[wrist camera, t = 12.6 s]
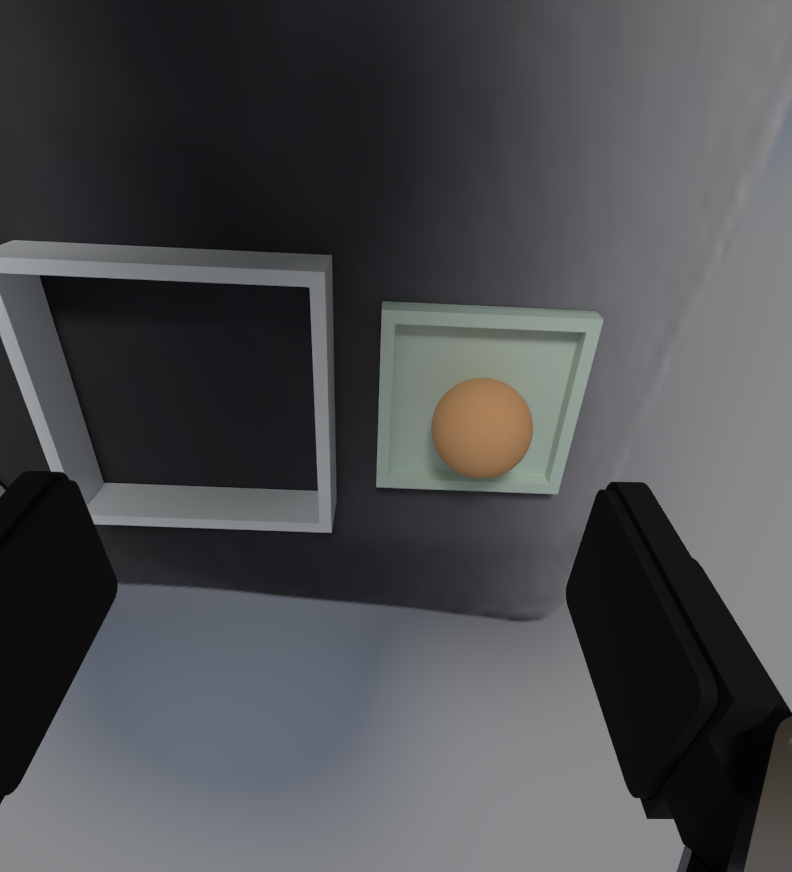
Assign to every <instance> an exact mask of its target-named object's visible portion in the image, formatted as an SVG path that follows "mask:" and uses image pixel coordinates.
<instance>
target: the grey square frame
mask: <svg viewBox="0 0 792 872" xmlns="http://www.w3.org/2000/svg"><path fill="white" fill-rule="evenodd" d="M39 275H52V276H74V277H96V278H118V279H140V280H162V281H183V282H205V283H227V284H249V285H271V286H293V287H310V310H311V334H312V358H313V381H314V405H315V429H316V452H317V476H318V491H307V490H281V489H255V488H228V487H202V486H176V485H150V484H123V483H104V482H103V479H102V475H101V472H100V469H99V466H98V463H97V459H96V456H95V453H94V450H93V447H92V443H91V440H90V437H89V434H88V431H87V427H86V424H85V421H84V418H83V415H82V411H81V408H80V405H79V402H78V398H77V395H76V392H75V389H74V386H73V382H72V379H71V376H70V373H69V370H68V366H67V363H66V360H65V357H64V354H63V350H62V347H61V344H60V341H59V337H58V334H57V331H56V328H55V325H54V321H53V318H52V315H51V312H50V309H49V305H48V302H47V299H46V296H45V293H44V289H43V286H42V283H41V280H40V277H39ZM0 336H1V338H2V341H3V344H4V346H5V349H6V352H7V355H8V357H9V360H10V363H11V365H12V368H13V371H14V373H15V376H16V379H17V381H18V384H19V387H20V389H21V392H22V395H23V397H24V400H25V403H26V406H27V408H28V411H29V414H30V416H31V419H32V422H33V424H34V427H35V430H36V432H37V435H38V438H39V440H40V443H41V446H42V448H43V451H44V454H45V456H46V459H47V462H48V465H49V467H50V470H51V472H63V473H65V474H66V475H67V476H68V478H69V479H70V480H73V481H75V482H76V483H77V484H78V486H79V488H80V490H81V493H82V495H83V498H84V500H85V503H86V505H87V508H88V510H89V513H90V515H91V517H92V520H93V522H94V524H103V525H130V526H158V527H185V528H212V529H240V530H267V531H295V532H322V533H332V527H333V521H334V514H335V508H336V502H337V489H336V436H335V383H334V330H333V277H332V255H318V254H297V253H276V252H254V251H233V250H212V249H191V248H169V247H148V246H127V245H106V244H84V243H63V242H42V241H21V240H13V241H10V242H7V243H5V244H2V245H0Z"/></svg>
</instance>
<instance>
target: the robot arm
mask: <svg viewBox="0 0 792 872" xmlns="http://www.w3.org/2000/svg"><path fill="white" fill-rule="evenodd" d="M116 593H117V579H116V576H115V574H114V571H113V569H112V566H111V564H110V562H109V559H108V557H107V554H106V552H105V549H104V547H103V544H102V542H101V539H100V537H99V535H98V532H97V530H96V527H95V525H94V522H93V520H92V517H91V515H90V513H89V510H88V508H87V505H86V503H85V500H84V498H83V495H82V493H81V490H80V488H79V486H78V484H77V483H76V482H75V481H73V480H70V479H69V478H68V476H67V475H66V474H65V473H63V472H48V471H27V472H24V473H22V474H21V475H20V476H18V478H17V479H16V480H15V481H14V482H13V483H12V484H11V485H10V486H9V488H8V489H7V490H6V491H5V492H4V493H3V494H2V495H1V496H0V804H1V802H2V800H3V798H4V796H5V795H9V794H10V793H12V792H13V791H14V790H15V789H16V788H17V787H18V785H19V784H20V782H21V780H22V779H23V776H24V774H25V773H26V771H27V769H28V767H29V765H30V763H31V761H32V759H33V757H34V755H35V753H36V751H37V749H38V747H39V745H40V744H41V741H42V740H43V738H44V736H45V734H46V732H47V730H48V728H49V726H50V724H51V722H52V720H53V718H54V716H55V714H56V712H57V710H58V709H59V707H60V705H61V703H62V701H63V699H64V697H65V695H66V693H67V691H68V689H69V687H70V685H71V683H72V681H73V679H74V677H75V675H76V673H77V671H78V670H79V668H80V665H81V664H82V662H83V660H84V658H85V656H86V654H87V652H88V650H89V648H90V646H91V644H92V642H93V640H94V639H95V637H96V635H97V633H98V631H99V629H100V627H101V625H102V623H103V621H104V619H105V617H106V615H107V613H108V611H109V609H110V607H111V605H112V603H113V602H114V599H115V597H116ZM566 600H567V605H568V608H569V611H570V614H571V617H572V621H573V624H574V627H575V629H576V633H577V636H578V639H579V642H580V645H581V648H582V651H583V654H584V657H585V660H586V663H587V667H588V669H589V673H590V676H591V679H592V682H593V685H594V688H595V691H596V694H597V697H598V700H599V703H600V706H601V709H602V712H603V716H604V719H605V722H606V724H607V728H608V731H609V734H610V737H611V740H612V743H613V746H614V749H615V752H616V755H617V759H618V761H619V764H620V768H621V770H622V774H623V777H624V780H625V783H626V785H627V788H628V790H629V792H630V793H631V795H632V796H633V797H635V798H640V799H641V802H642V805H643V808H644V811H645V814H646V817H647V819H674V821H675V823H676V826H677V829H678V831H679V834H680V836H681V839H682V842H683V844H684V845H685V847H684V850H683V853H682V857H681V860H680V863H679V866H678V869H677V872H792V712H791V711H790V709H789V708H788V706H787V704H786V703H785V701H784V700H783V698H782V696H781V695H780V693H779V691H778V690H777V688H776V686H775V685H774V683H773V682H772V680H771V678H770V677H769V675H768V673H767V672H766V670H765V669H764V667H763V665H762V664H761V662H760V661H759V659H758V657H757V656H756V654H755V652H754V651H753V649H752V648H751V646H750V644H749V643H748V641H747V639H746V638H745V636H744V635H743V633H742V631H741V630H740V628H739V626H738V625H737V623H736V622H735V620H734V618H733V617H732V615H731V613H730V612H729V610H728V609H727V607H726V605H725V604H724V602H723V601H722V599H721V597H720V596H719V594H718V592H717V591H716V589H715V588H714V586H713V584H712V583H711V581H710V580H709V578H708V576H707V575H706V573H705V572H704V570H703V568H702V567H701V566H700V564H699V563H698V562H697V561H696V560H695V559H693V558H692V557H691V556H690V554H689V552H688V551H687V549H686V547H685V546H684V544H683V542H682V541H681V539H680V537H679V536H678V534H677V533H676V531H675V530H674V528H673V526H672V525H671V523H670V521H669V519H668V518H667V516H666V514H665V513H664V511H663V510H662V508H661V506H660V505H659V503H658V501H657V500H656V498H655V496H654V495H653V493H652V491H651V490H650V488H649V487H648V486H647V485H646V484H645V483H641V482H611V483H610V484H609V485H608V486H607V488H606V490H599V491H598V493H597V495H596V498H595V501H594V504H593V507H592V510H591V513H590V516H589V519H588V522H587V525H586V528H585V531H584V534H583V537H582V540H581V543H580V546H579V549H578V552H577V555H576V559H575V562H574V565H573V568H572V571H571V574H570V577H569V580H568V583H567V587H566Z"/></svg>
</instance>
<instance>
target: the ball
mask: <svg viewBox="0 0 792 872" xmlns="http://www.w3.org/2000/svg"><path fill="white" fill-rule="evenodd" d="M431 432H432V439H433V443H434V446H435V448H436V450H437V452H438V454H439V455H440V457H441V458H442V460H443V461H444V462H445V463H446V464H447V465H448V466H449V467H451V468H452V469H453V470H455V471H456V472H458V473H460V474H462V475H465V476H468V477H473V478H492V477H496V476H499V475H502V474H504V473H506V472H508V471H510V470H511V469H512V468H514V467H515V466H516V465H517V464H518V463H519V462H520V461H521V460H522V459H523V457H524V456H525V454H526V453H527V451H528V449H529V447H530V444H531V440H532V436H533V420H532V415H531V412H530V409H529V407H528V405H527V403H526V402H525V400H524V399H523V397H522V396H521V395H520V394H519V393H518V392H517V391H516V390H515V389H514V388H512V387H511V386H509V385H507V384H506V383H504V382H501V381H499V380H495V379H490V378H475V379H470V380H466V381H464V382H461V383H459V384H457V385H455V386H454V387H452V388H451V389H450V390H449V391H447V392H446V393H445V395H444V396H443V397H442V398H441V400H440V401H439V403H438V404H437V406H436V408H435V411H434V414H433V418H432V425H431Z"/></svg>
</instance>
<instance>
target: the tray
mask: <svg viewBox="0 0 792 872" xmlns="http://www.w3.org/2000/svg"><path fill="white" fill-rule="evenodd" d="M602 324H603V318H602V317H601V316H600V315H599V314H598V313H597V312H596V311H587V310H565V309H543V308H521V307H499V306H477V305H455V304H433V303H411V302H389V301H382V317H381V349H380V381H379V413H378V445H377V477H376V487H381V488H407V489H433V490H460V491H486V492H512V493H538V494H558V491H559V487H560V484H561V480H562V476H563V472H564V468H565V465H566V461H567V457H568V453H569V449H570V446H571V442H572V438H573V434H574V430H575V427H576V423H577V419H578V415H579V411H580V408H581V404H582V400H583V396H584V392H585V389H586V385H587V381H588V377H589V373H590V370H591V366H592V362H593V358H594V355H595V351H596V347H597V343H598V339H599V336H600V332H601V328H602ZM475 378H490V379H495V380H499V381H501V382H504V383H506V384H507V385H509V386H511V387H512V388H514V389H515V390H516V391H517V392H518V393H519V394H520V395H521V396H522V397H523V399H524V400H525V402H526V403H527V405H528V407H529V409H530V412H531V415H532V420H533V436H532V440H531V444H530V447H529V449H528V451H527V453H526V454H525V456H524V457H523V459H522V460H521V461H520V462H519V463H518V464H517V465H516V466H515V467H514V468H512V469H511V470H510V471H508V472H506V473H504V474H502V475H499V476H496V477H492V478H473V477H468V476H465V475H462V474H460V473H458V472H456V471H455V470H453V469H452V468H451V467H449V466H448V465H447V464H446V463H445V462H444V461H443V460H442V458H441V457H440V455H439V454H438V452H437V450H436V448H435V446H434V443H433V439H432V432H431V425H432V418H433V414H434V411H435V408H436V406H437V404H438V403H439V401H440V400H441V398H442V397H443V396H444V395H445V393H446V392H447V391H449V390H450V389H451V388H452V387H454V386H455V385H457V384H459V383H461V382H464V381H466V380H470V379H475Z"/></svg>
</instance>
